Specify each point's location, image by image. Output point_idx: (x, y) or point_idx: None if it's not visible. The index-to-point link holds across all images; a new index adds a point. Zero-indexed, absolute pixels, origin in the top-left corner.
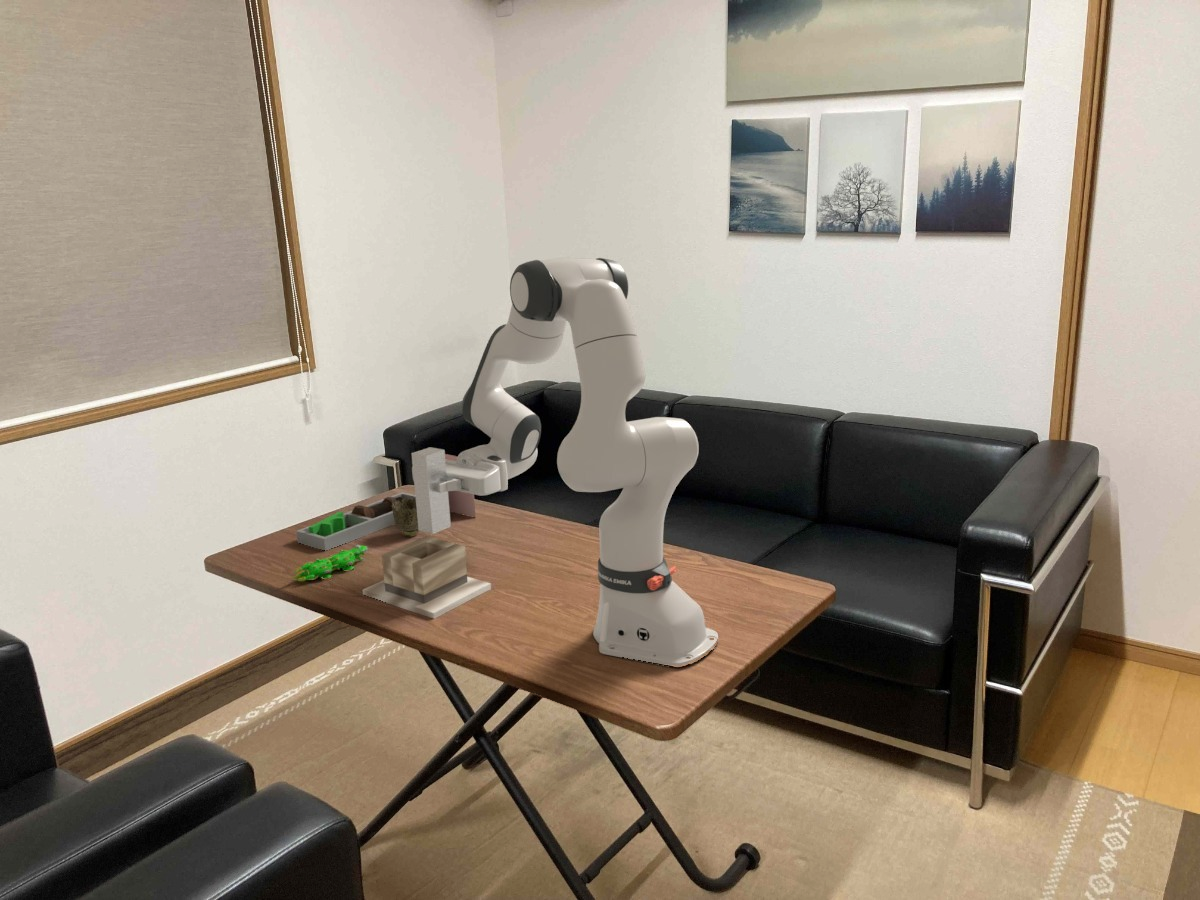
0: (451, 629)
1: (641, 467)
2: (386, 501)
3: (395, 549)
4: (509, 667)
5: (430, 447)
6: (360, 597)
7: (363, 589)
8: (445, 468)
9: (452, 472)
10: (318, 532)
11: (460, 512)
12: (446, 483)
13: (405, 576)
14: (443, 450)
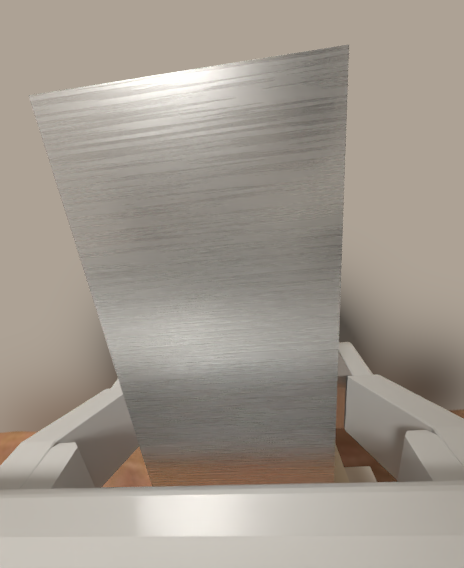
0: (119, 470)
1: None
2: None
3: (340, 467)
4: (4, 437)
5: (330, 51)
6: (361, 465)
7: (369, 467)
8: (112, 343)
9: (79, 521)
10: None
11: None
12: (110, 392)
13: None
14: (46, 107)
